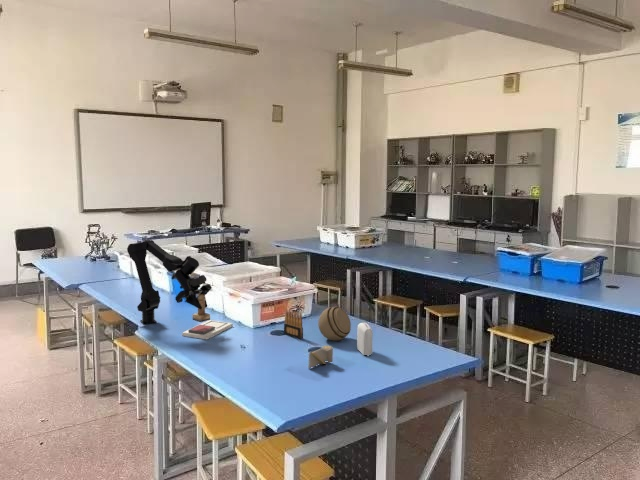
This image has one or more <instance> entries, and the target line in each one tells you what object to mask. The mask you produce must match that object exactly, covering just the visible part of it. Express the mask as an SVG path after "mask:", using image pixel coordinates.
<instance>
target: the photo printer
mask: <svg viewBox="0 0 640 480" xmlns="http://www.w3.org/2000/svg"><path fill="white" fill-rule="evenodd" d="M356 327H357V330H356V332H357V335H356V338H357V339H356V349H357V351H358V350H359V351H360V352H361V353H362V354H361V353H360V352H359V351H358V352H359V353H360V354H361V355H363V356H364V355H371V354H372V355H373V341H374V339H373V338H374V337H373V336H374V334H373V333H374V332H373V329H372V327H371V326H370V325H369V324H368V323H367V322H360V323H359V324H358V325H357V326H356ZM372 355H371V356H372Z"/></svg>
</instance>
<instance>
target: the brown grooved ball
mask: <svg viewBox="0 0 640 480" xmlns="http://www.w3.org/2000/svg"><path fill="white" fill-rule="evenodd" d="M351 325H352V323H351V318H350V317H349V314H348V313H347V312H346V311H345V310H344V309H343V308H341V307H340V306H330V307H326V309H324V310H323V311H322V312H321V313H320V316H319V318H318V329H319V331H320V333H321V335H322V336H323V337H324V338H326V339H327V340H330V341H334V342H335V341H341V340H343V339H345V338H346V337H348V335H349V334H350V333H351V329H352V326H351Z"/></svg>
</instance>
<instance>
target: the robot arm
mask: <svg viewBox="0 0 640 480" xmlns="http://www.w3.org/2000/svg"><path fill="white" fill-rule="evenodd" d="M126 250H127V254H128V256H129V259H131V260H132V261H133V262H134V264H135V269H136V272H137V276H138V280H139V283H140V286H141V287H140V288H141V295H140V302H139V304H138V305H137V306H136V308H137V311H138V312H141V318H142V319H140V320H139V321H140V322H141V324H142V325H148V324H156V323H158V321H157V320H156V318H155V310H156V309H159V306H160V303H161V296H160V291H159V290H156V289H155V288H154V287H153V284H152V281H151V275H150V273H149V269H148V264H147V261H146V258H147V253H148V252H149V253H150V254H151V255H152V256H154V257H155V258H156V259H158V260H159V261H160V262H161V263H162V266H163V267H164V269H166V270H167V271H168V272H170V273H171V272H174V273H172V276H171V280H176V281H177V282H178V283H179V285H180V286H179V288H180V291H179V292H178V293H177V295H176V296H175V298H174V300H175V301H176V303H177V304H178V303H179V304H180V303H182V302H183V300H184V298H185V300H184V303H187V304H189V305H191V306H193V307H195V308H197V309H198V308H199V309H202V307H201V305H200V303H199V302H198V299H197V298H198V296H199V295H200V294H203V295H204V296H205V297H206V295H207V294H208V293H209V292H210V291H211V290H212V289H213V287H212V286H211V284H209V283H207V284H206V282H207V281H208V279H207V277H206V276H205V274H202V275H199V276H198V277H197V278H194V277H191V276H190V275H192V274H194V272H195V271H196V270H197V269H198V268H199V266H200V262H199V261H198V260H197V259H195V258H194V257H192V256H191V255H189V256H186V257H185V259H184V260H183V259H182V258H180V257H179V256H177V255H173V254H170V253H169V252H168V251H166V250H165V249H164V248H162V247H161V246H159V245H158V244H157V243H156V242H155V241H154V240H152V239H149V240H148V239H147V240H143V241H140V242H134V243H132V242H131V243H129V244H128V246H127V248H126ZM175 271H176V272H175ZM201 285H202V286H201ZM207 307H208V302H207V299H205V309H206V308H207Z"/></svg>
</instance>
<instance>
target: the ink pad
mask: <svg viewBox="0 0 640 480" xmlns="http://www.w3.org/2000/svg"><path fill="white" fill-rule="evenodd" d="M195 326H196V327H195ZM195 326H194V328H193V327H191V328H192V329H191V328H188V330H189V333H195V334H202V335H204V334H206V333H208V332H210V331H212V330H214V329H215V327H213V326H206V325H200V324H198V326H197V325H195Z"/></svg>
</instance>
